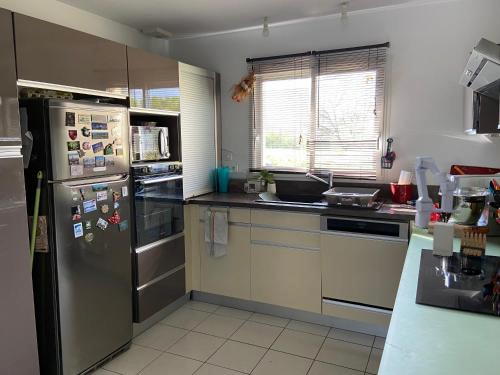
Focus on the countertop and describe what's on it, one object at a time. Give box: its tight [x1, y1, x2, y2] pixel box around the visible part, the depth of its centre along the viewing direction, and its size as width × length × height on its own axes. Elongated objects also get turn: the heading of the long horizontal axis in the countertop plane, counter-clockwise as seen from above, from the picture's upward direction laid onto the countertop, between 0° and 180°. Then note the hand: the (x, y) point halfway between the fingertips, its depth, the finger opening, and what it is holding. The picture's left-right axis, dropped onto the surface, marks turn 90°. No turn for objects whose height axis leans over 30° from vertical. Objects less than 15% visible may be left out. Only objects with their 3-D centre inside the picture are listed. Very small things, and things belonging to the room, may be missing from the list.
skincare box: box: [432, 221, 455, 256], centre depth 189 cm, size 8×7×16 cm
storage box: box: [427, 227, 464, 238], centre depth 234 cm, size 12×18×4 cm, turn 65°
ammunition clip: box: [459, 230, 487, 258], centre depth 187 cm, size 11×2×12 cm, turn 58°
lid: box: [428, 220, 464, 231], centre depth 234 cm, size 13×18×1 cm
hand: (445, 225), depth 232 cm, fingers closed, pressing on lid
